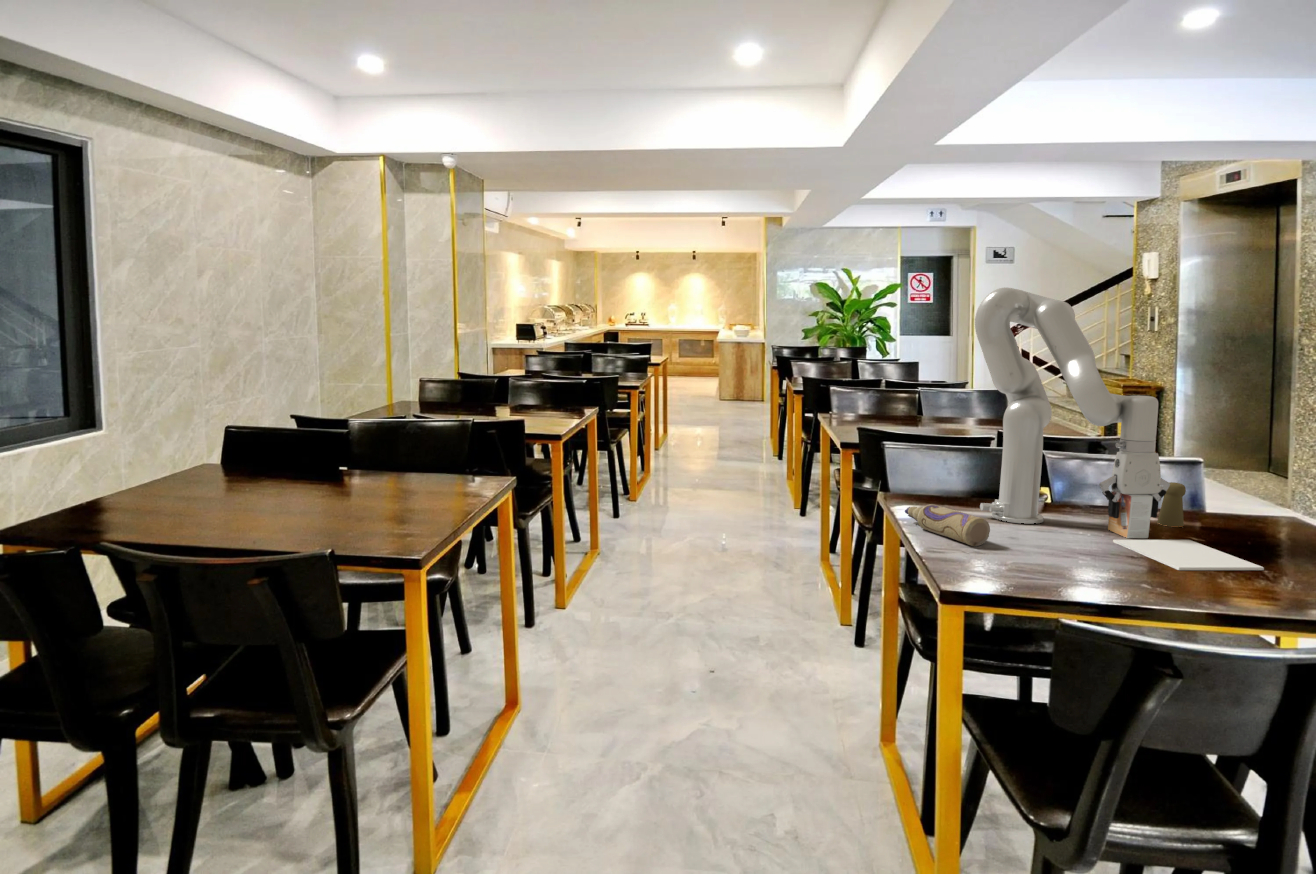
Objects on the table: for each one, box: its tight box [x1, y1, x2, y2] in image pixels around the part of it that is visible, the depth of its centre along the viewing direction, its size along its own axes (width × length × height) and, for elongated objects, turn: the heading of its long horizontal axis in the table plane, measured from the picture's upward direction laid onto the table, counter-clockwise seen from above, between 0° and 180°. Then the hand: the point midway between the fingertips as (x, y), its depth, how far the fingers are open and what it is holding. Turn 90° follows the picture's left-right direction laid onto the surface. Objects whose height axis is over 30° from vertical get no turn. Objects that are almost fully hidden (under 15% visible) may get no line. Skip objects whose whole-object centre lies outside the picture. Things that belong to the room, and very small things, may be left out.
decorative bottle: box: [904, 503, 991, 547], centre depth 212 cm, size 26×8×7 cm, turn 21°
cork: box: [1156, 481, 1187, 527], centre depth 226 cm, size 6×6×11 cm
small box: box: [1107, 494, 1153, 539], centre depth 214 cm, size 8×6×10 cm
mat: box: [1112, 539, 1265, 571], centre depth 196 cm, size 19×23×1 cm
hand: (1132, 516), depth 214 cm, fingers open, 9 cm apart
